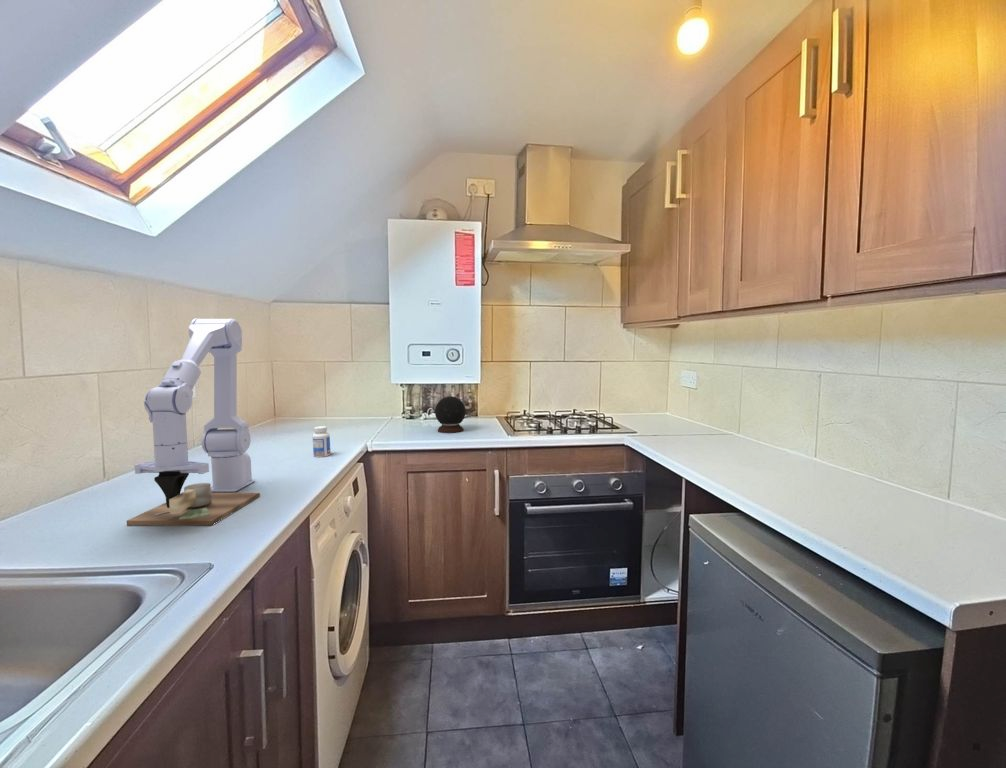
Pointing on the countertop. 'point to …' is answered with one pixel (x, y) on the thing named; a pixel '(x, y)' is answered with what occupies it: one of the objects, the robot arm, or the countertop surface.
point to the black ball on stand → (450, 414)
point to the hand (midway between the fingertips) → (174, 506)
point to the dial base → (196, 511)
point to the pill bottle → (321, 442)
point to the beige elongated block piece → (191, 497)
